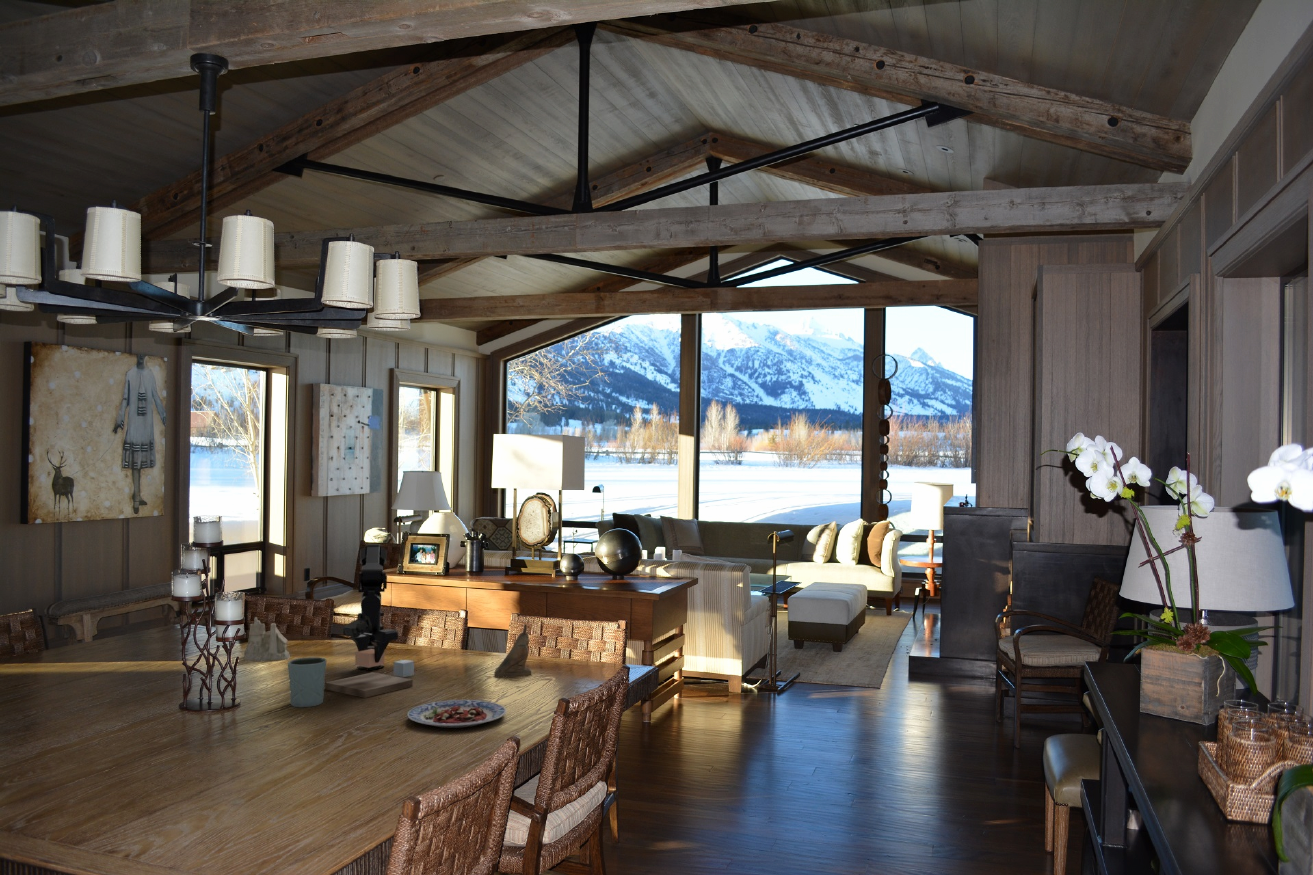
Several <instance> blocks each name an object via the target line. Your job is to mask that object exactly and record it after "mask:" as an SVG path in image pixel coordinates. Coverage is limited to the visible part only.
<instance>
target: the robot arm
mask: <svg viewBox="0 0 1313 875" xmlns="http://www.w3.org/2000/svg"><path fill="white" fill-rule="evenodd" d="M359 551H360V552H359V563H360V564H361V571H359V573H358V587H357V588H358V590H357V592H358V593H362V594H361V602H360V609H361V611H360V612H359V613H358V614H357V615H356V616H357V618H356V619H354V620H352V621H351V622H349V623H346V624H345V625H344V626H343V631H342V632H343V633H342V634H343V636H346V638H349V640H352V641H353V642H354V643H355V646H356V648H357V652H358V651H363V650H368V649H374V653H375V663H378V662H379V661H380V659H381V657H382V655H383V653H384V651H385V650H387V647H388V645H389V644H390V642H392V641H395V640H398V639H399V631H398V630H397V629H391V628H387V629H386V628H384V625H383V623H381V621H382V617H384V616H385V613H384V612H382V593H385V592H386V590H387V589H388V588H387V587H388V575H387V573H386V572H385V571H384V570H385V564H387V554H388V553H387V549H386V548H384V547H383V546H382V544H379V543H372V544H371V543H367V544H365V547H363V548H361V549H359ZM356 668H357V669H359V670H364V671H373V670H377V669H378V670H379V669H383V668H385V665H379V666H374V667H370V668H367V667H362V666H357V665H356Z"/></svg>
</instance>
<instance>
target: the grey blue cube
mask: <svg viewBox="0 0 1313 875" xmlns="http://www.w3.org/2000/svg"><path fill="white" fill-rule="evenodd" d="M414 675H415V660H414V661H413V660H410V659H401V660H397V661H396V660H395V661H393V674H392V676H396V677H401V678H406V677H412V676H414Z"/></svg>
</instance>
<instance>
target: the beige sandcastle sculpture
mask: <svg viewBox="0 0 1313 875" xmlns="http://www.w3.org/2000/svg"><path fill="white" fill-rule="evenodd" d="M253 620H254V621H253V623H251V624H249V633H248V639H247V641H248V642H247V644H246V648H245V650H244V651H243V658H244V659H243V660H244V661H249V662H280V661H286V660H289V659H290V657H291V656H290V652H289V651H288V650H287V649H288V645H287V644H288V642H289V641H288V639H287V638H286V637H285V636H284V635H283V634H282V633H281V632H280V631H279V629H278V627H277V624H276V623H275V622H274V623H270V630H268V631H266V625H265V623H262V622H261V621H260V620H258V617H254V619H253Z"/></svg>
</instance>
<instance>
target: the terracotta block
mask: <svg viewBox="0 0 1313 875" xmlns="http://www.w3.org/2000/svg"><path fill="white" fill-rule="evenodd" d="M354 655H355V657H354V658H355V661H354V662H355V663H354V666H356V667H357V666H362V667H367V668H370V667H374V666H379V665H383V666H385V655H386V654H385V651H384V653H383V655H382V657H381V659H380V661H379V662H378V663H375V653H374V649H368V650H363V651H358V650H357V651H355V654H354Z"/></svg>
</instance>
